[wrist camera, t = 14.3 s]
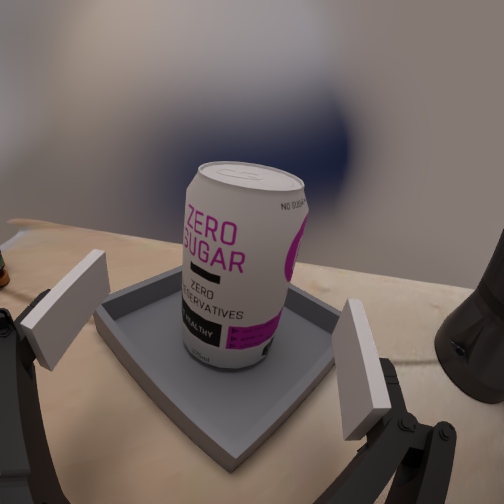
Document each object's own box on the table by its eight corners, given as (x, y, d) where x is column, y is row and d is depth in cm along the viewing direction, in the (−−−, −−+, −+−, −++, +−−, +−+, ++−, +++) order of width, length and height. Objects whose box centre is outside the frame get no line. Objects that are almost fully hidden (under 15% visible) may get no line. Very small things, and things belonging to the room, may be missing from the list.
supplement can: (272, 317, 29) (306, 172, 22) (268, 381, 22) (321, 205, 15) (194, 302, 29) (206, 155, 22) (171, 362, 22) (170, 179, 15)
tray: (347, 346, 28) (360, 322, 26) (230, 473, 15) (235, 458, 13) (224, 271, 37) (227, 247, 35) (96, 329, 24) (90, 302, 23)
